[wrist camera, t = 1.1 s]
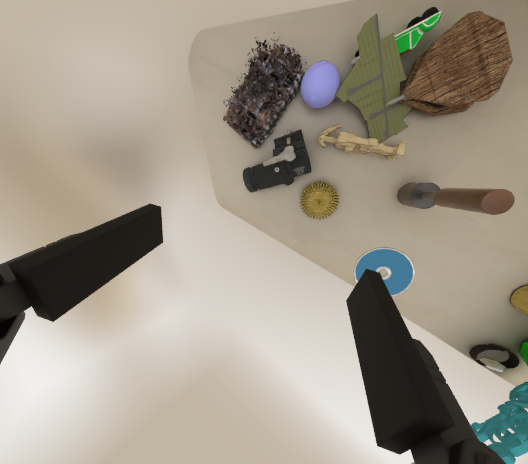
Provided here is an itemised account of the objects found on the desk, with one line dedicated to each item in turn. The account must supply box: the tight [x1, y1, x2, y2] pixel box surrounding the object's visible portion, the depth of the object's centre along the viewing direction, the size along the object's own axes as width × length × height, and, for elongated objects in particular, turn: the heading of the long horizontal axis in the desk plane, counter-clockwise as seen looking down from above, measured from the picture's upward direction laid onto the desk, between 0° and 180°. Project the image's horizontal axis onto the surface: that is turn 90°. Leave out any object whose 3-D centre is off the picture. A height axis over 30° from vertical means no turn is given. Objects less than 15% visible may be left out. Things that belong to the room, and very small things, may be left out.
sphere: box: [301, 61, 340, 109], centre depth 35 cm, size 7×7×7 cm
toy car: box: [351, 7, 442, 65], centre depth 32 cm, size 12×5×4 cm
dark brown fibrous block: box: [223, 33, 308, 148], centre depth 39 cm, size 20×12×6 cm, turn 142°
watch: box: [470, 344, 519, 372], centre depth 39 cm, size 8×5×4 cm, turn 90°
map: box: [335, 14, 412, 143], centre depth 33 cm, size 11×18×1 cm, turn 29°
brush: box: [398, 183, 514, 215], centre depth 29 cm, size 4×4×20 cm
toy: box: [317, 124, 406, 160], centre depth 36 cm, size 6×4×15 cm
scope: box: [243, 130, 311, 192], centre depth 40 cm, size 8×14×10 cm
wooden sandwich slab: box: [384, 11, 513, 116], centre depth 30 cm, size 12×16×5 cm
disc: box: [354, 248, 415, 297], centre depth 43 cm, size 12×1×12 cm
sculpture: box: [300, 182, 339, 219], centre depth 41 cm, size 8×4×8 cm
